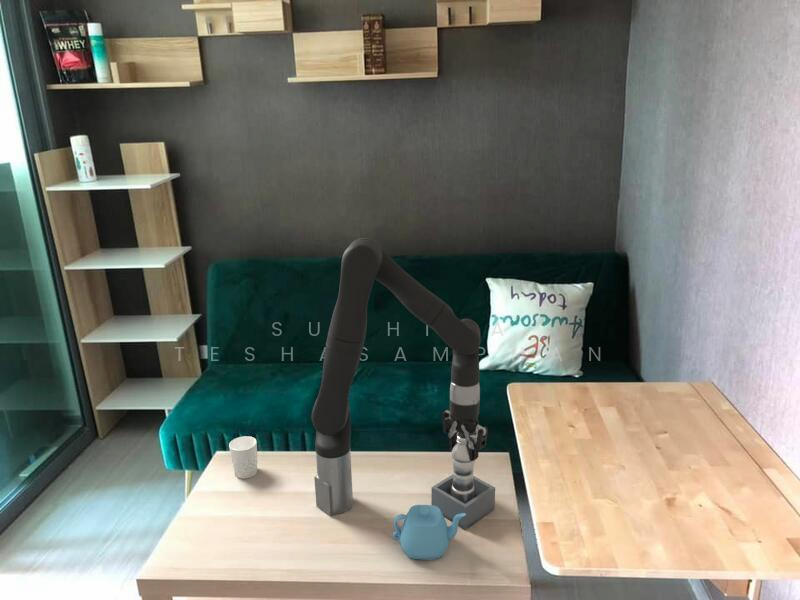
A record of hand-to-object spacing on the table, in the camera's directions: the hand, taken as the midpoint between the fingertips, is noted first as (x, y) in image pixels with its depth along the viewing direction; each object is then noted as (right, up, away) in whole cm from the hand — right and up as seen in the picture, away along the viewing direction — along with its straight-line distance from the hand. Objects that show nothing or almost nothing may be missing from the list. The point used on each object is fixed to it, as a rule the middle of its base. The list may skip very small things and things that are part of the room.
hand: (463, 454), depth 165 cm
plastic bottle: (0, -14, +5) cm, 14 cm away
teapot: (-9, -21, -8) cm, 24 cm away
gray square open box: (0, -16, +5) cm, 17 cm away
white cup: (-63, -11, +24) cm, 68 cm away
